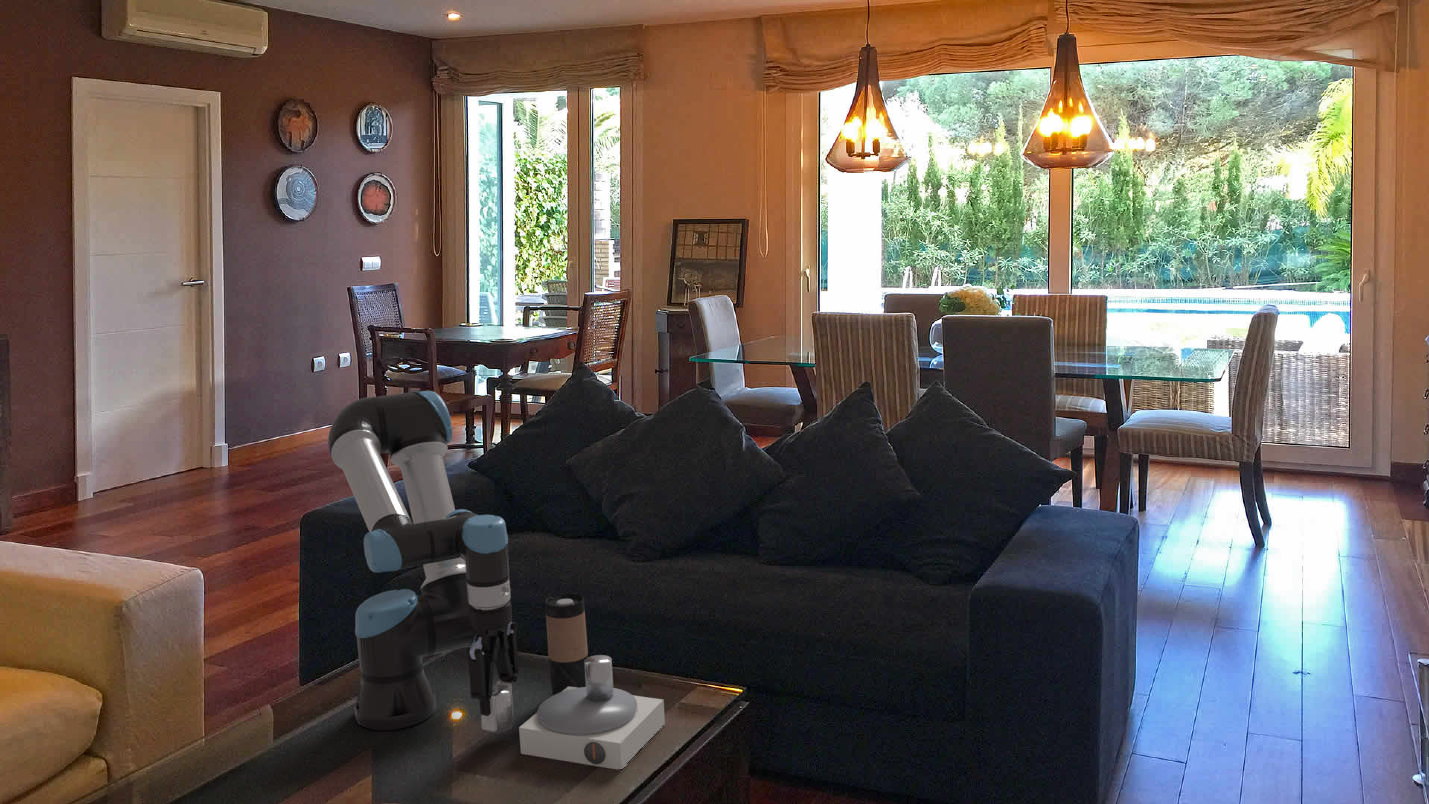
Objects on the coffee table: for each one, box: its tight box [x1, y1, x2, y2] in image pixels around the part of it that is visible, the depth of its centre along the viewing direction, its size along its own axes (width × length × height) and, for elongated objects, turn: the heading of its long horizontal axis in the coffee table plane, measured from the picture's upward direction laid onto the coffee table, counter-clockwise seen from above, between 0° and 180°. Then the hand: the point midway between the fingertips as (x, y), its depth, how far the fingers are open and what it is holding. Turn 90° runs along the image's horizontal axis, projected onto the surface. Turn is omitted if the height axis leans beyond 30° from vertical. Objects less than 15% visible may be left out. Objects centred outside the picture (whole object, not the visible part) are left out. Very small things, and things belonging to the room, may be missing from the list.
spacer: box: [486, 684, 514, 734], centre depth 220 cm, size 5×5×7 cm
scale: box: [518, 686, 666, 771], centre depth 219 cm, size 20×18×6 cm
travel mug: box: [544, 592, 589, 696], centre depth 237 cm, size 8×8×20 cm
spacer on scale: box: [584, 654, 614, 702], centre depth 223 cm, size 5×5×7 cm
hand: (498, 722), depth 221 cm, fingers closed on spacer, 5 cm apart
